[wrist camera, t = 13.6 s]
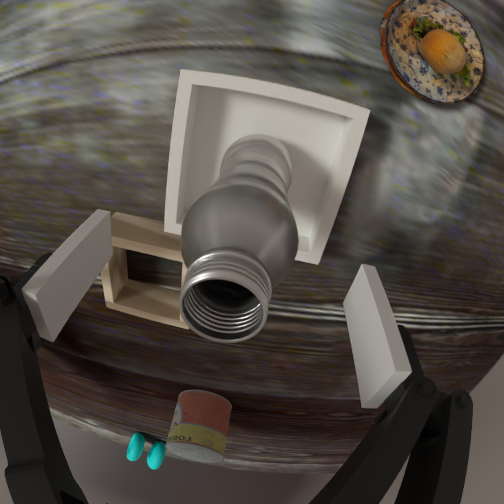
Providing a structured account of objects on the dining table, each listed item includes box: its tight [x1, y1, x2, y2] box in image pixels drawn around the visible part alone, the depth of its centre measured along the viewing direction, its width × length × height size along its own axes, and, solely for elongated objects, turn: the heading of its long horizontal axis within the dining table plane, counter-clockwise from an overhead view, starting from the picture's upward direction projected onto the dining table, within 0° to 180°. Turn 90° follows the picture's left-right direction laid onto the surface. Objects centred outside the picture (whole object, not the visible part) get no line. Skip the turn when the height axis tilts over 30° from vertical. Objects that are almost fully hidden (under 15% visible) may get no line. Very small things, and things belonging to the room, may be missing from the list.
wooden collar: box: [101, 212, 189, 329], centre depth 35 cm, size 11×11×5 cm
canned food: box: [165, 390, 232, 463], centre depth 52 cm, size 11×11×12 cm
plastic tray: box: [164, 69, 370, 264], centre depth 28 cm, size 16×16×4 cm
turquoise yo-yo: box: [127, 433, 166, 469], centre depth 72 cm, size 10×10×10 cm
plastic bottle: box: [179, 134, 299, 343], centre depth 20 cm, size 6×7×20 cm
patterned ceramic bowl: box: [380, 0, 485, 104], centre depth 17 cm, size 12×12×8 cm
